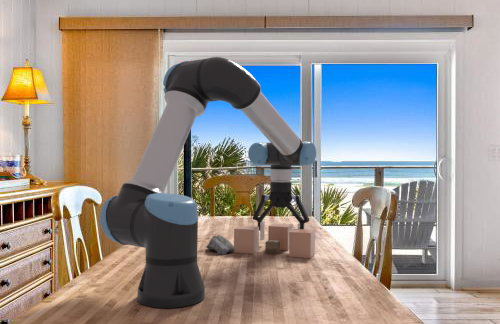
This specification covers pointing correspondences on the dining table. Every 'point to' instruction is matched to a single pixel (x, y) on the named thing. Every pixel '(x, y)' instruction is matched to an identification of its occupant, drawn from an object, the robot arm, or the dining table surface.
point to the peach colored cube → (246, 239)
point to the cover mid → (280, 234)
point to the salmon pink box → (301, 243)
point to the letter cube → (272, 247)
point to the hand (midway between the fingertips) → (280, 241)
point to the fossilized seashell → (220, 245)
